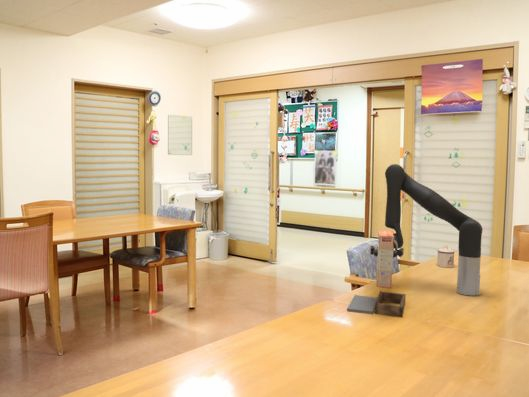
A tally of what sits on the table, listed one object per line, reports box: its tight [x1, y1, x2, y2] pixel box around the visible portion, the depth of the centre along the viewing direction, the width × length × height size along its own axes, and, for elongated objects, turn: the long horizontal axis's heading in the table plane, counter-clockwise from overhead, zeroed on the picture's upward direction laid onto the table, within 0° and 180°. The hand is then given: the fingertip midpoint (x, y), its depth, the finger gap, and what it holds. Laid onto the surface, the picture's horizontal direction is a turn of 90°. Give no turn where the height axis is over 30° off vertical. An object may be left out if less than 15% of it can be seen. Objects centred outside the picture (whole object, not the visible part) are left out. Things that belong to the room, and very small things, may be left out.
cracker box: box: [375, 229, 394, 289], centre depth 196 cm, size 14×6×21 cm, turn 168°
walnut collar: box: [374, 291, 406, 318], centre depth 197 cm, size 10×18×4 cm, turn 161°
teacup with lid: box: [436, 245, 455, 269], centre depth 275 cm, size 12×9×12 cm
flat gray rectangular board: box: [346, 294, 378, 315], centre depth 201 cm, size 10×20×1 cm, turn 161°
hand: (384, 254), depth 197 cm, fingers closed on cracker box, 6 cm apart
